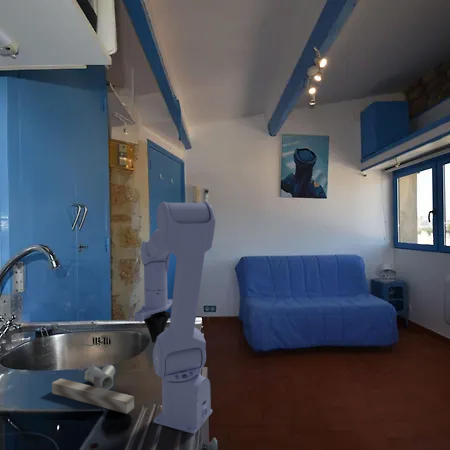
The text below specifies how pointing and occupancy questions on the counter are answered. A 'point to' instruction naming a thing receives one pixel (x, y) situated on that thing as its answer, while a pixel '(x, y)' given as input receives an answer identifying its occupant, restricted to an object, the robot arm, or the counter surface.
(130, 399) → the light wooden bar
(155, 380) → the counter surface
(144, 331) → the counter surface
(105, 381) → the pipe fitting
